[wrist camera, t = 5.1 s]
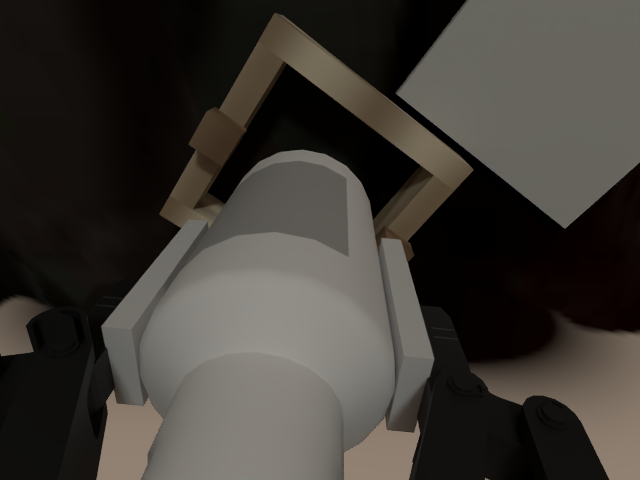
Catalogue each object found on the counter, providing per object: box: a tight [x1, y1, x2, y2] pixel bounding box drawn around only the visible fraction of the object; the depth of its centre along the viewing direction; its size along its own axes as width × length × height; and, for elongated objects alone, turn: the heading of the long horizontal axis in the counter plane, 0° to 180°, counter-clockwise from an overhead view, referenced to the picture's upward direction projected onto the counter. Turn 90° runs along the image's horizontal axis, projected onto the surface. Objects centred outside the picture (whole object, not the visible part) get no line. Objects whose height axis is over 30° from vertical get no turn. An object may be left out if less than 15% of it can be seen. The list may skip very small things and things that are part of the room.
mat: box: [396, 0, 640, 228], centre depth 22 cm, size 14×14×1 cm
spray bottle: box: [139, 150, 396, 480], centre depth 13 cm, size 7×7×18 cm
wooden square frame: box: [159, 13, 473, 262], centre depth 24 cm, size 14×13×4 cm
